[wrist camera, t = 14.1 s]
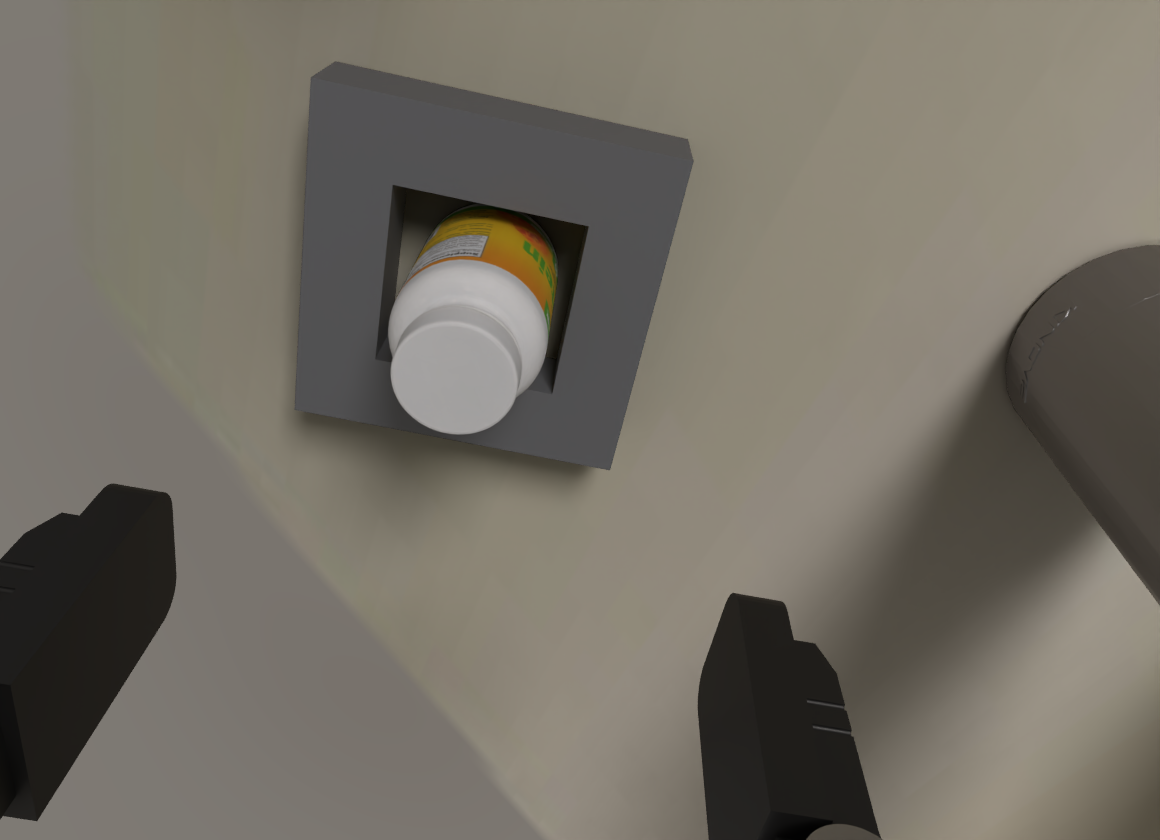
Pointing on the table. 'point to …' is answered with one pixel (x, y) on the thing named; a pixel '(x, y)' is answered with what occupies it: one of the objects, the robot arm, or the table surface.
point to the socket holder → (493, 177)
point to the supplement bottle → (473, 319)
